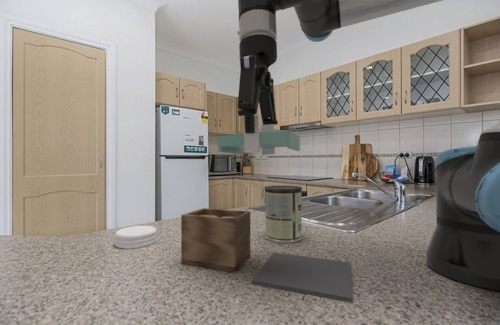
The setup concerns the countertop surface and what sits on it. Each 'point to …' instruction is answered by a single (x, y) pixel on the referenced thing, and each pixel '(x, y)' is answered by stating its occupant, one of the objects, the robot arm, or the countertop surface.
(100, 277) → the countertop surface
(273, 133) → the lid
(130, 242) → the coaster
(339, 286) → the mat
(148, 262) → the countertop surface
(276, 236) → the coffee can
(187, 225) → the box
